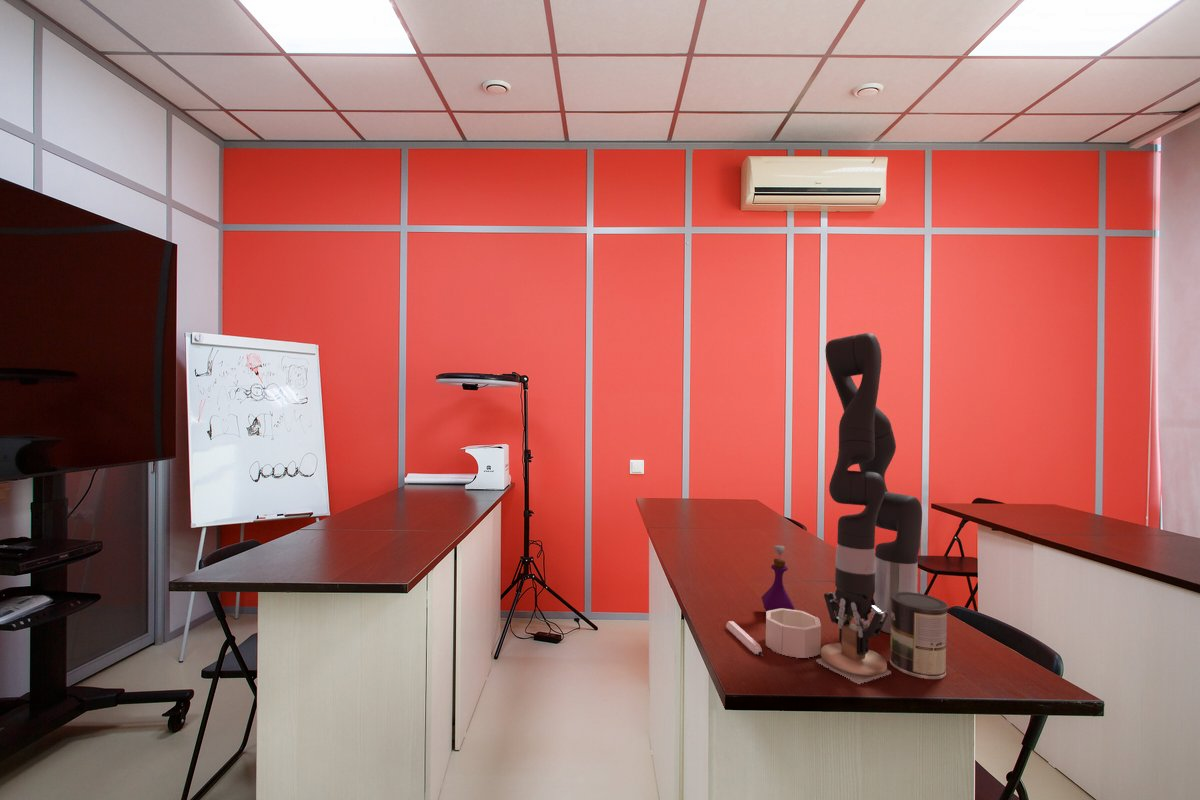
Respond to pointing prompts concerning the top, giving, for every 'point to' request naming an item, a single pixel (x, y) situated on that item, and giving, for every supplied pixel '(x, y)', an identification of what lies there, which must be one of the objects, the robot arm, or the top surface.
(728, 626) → the marker
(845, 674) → the mat
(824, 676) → the top surface
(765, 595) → the perfume bottle
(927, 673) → the coffee can
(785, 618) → the pot
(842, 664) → the lid
